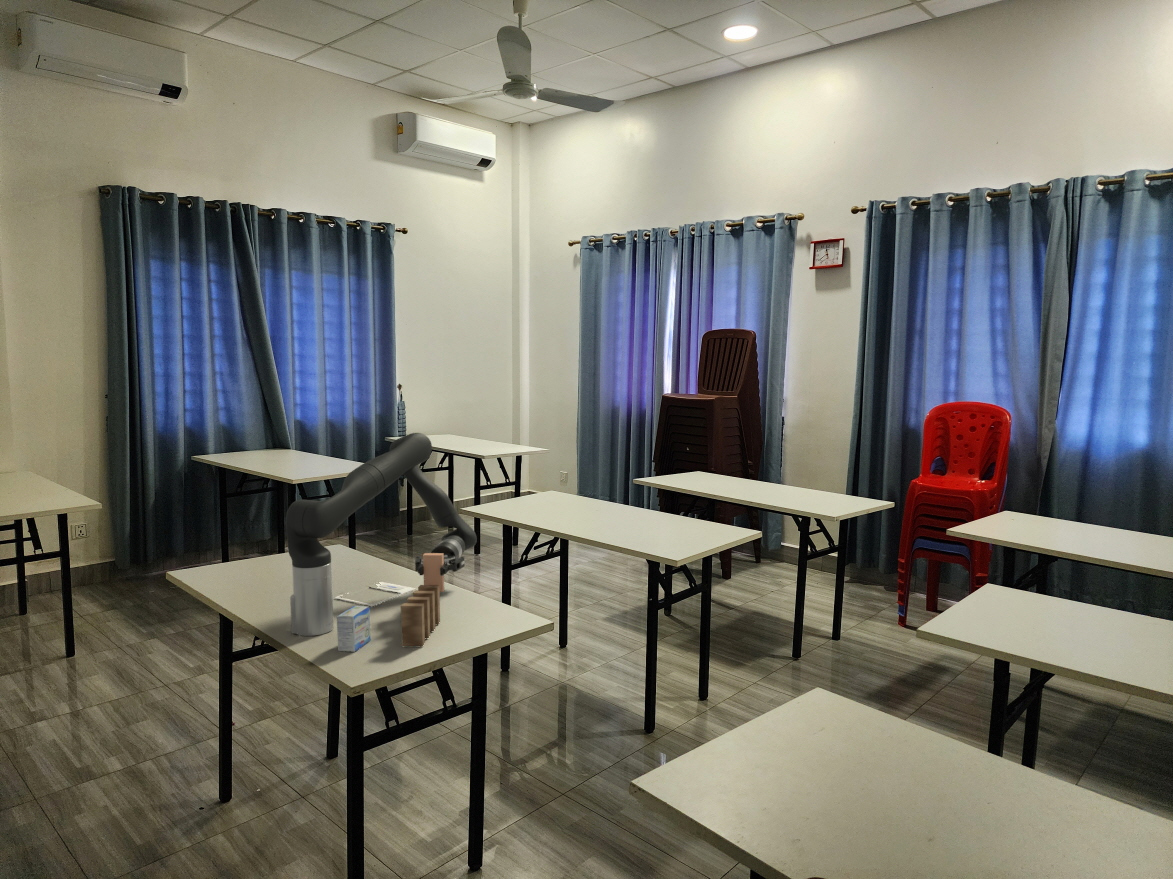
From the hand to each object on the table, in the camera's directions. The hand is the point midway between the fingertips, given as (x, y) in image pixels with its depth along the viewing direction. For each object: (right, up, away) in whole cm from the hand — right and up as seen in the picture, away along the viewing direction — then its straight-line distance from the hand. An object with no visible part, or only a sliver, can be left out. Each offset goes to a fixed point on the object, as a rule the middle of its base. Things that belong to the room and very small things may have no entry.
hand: (431, 571), depth 195 cm
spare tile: (0, -6, +3) cm, 7 cm away
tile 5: (-1, -15, -16) cm, 22 cm away
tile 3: (0, -14, -6) cm, 15 cm away
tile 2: (0, -13, -1) cm, 13 cm away
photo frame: (-21, -12, +24) cm, 34 cm away
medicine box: (-15, -15, -16) cm, 27 cm away
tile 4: (-1, -14, -11) cm, 18 cm away
